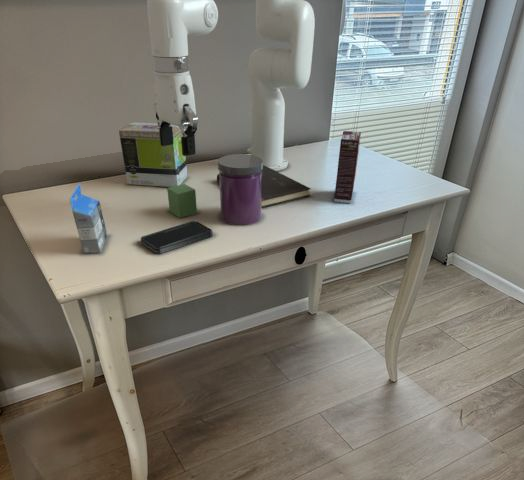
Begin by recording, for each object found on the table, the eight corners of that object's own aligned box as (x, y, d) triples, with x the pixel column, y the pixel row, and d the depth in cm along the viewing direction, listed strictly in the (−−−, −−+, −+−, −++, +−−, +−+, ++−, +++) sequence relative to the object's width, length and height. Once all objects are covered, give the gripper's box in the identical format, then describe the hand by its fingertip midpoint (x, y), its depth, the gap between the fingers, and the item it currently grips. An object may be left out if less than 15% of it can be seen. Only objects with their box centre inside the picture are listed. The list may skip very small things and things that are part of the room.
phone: (214, 231, 113) (157, 249, 105) (214, 235, 114) (157, 254, 106) (194, 220, 118) (138, 237, 110) (195, 224, 118) (139, 241, 110)
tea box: (188, 177, 145) (183, 123, 136) (177, 188, 137) (172, 132, 128) (139, 173, 147) (131, 120, 138) (126, 185, 139) (117, 129, 130)
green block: (169, 211, 125) (167, 188, 121) (186, 207, 127) (184, 183, 123) (179, 218, 122) (177, 194, 118) (197, 213, 124) (195, 189, 120)
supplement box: (351, 204, 130) (359, 140, 120) (333, 202, 131) (339, 139, 121) (353, 192, 137) (361, 131, 127) (336, 190, 137) (342, 130, 127)
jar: (212, 215, 123) (209, 159, 115) (245, 205, 128) (244, 151, 120) (236, 229, 117) (235, 171, 108) (270, 218, 122) (272, 162, 113)
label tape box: (101, 253, 106) (89, 197, 99) (81, 254, 106) (68, 198, 98) (107, 235, 113) (97, 182, 106) (89, 236, 113) (77, 182, 105)
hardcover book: (263, 172, 149) (263, 164, 147) (309, 196, 134) (310, 188, 132) (216, 182, 142) (216, 174, 140) (260, 208, 127) (260, 199, 125)
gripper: (208, 69, 101) (212, 156, 111) (166, 59, 112) (173, 139, 122) (176, 72, 97) (183, 161, 107) (135, 61, 108) (145, 144, 118)
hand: (177, 149), depth 115 cm, fingers open, 9 cm apart
